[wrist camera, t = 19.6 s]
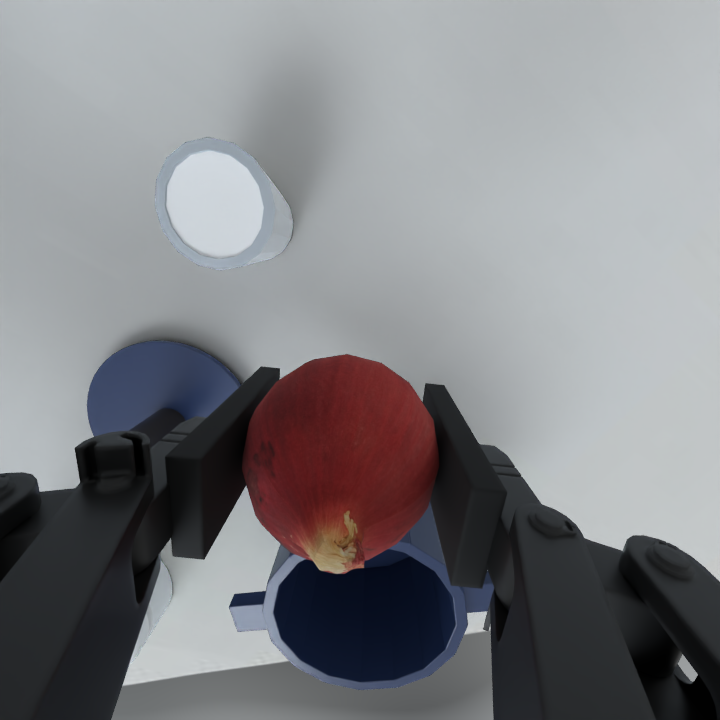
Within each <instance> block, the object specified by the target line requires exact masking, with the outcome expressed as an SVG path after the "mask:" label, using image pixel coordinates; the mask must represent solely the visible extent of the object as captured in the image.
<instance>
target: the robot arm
mask: <svg viewBox="0 0 720 720" xmlns="http://www.w3.org/2000/svg"><path fill="white" fill-rule="evenodd" d="M279 378H280V368H270V367H260V368H259V369H258V370H257V371H256V372H255V373H254V374H253V375H252V376H251V377H250V378H248V379H247V380H246V381H245V382H244V383H243V384H242V385H241V386H240V387H239V388H238V389H237V390H236V391H235V392H234V393H232V394H231V395H230V396H229V397H228V398H227V399H226V400H225V401H224V402H223V403H222V404H221V405H220V406H219V407H217V408H216V409H215V410H214V411H213V412H212V413H211V414H210V415H209V416H208V417H198V416H195V417H193V418H191V419H188V420H186V421H184V422H182V423H180V424H179V425H178V426H176V427H175V428H174V429H173V430H172V431H170V434H167V435H166V436H164V437H163V438H162V439H161V441H158V442H157V443H156V444H155V445H154V446H152V447H151V448H150V438H149V437H148V436H147V435H146V434H144V433H141V432H138V431H117V432H110V433H106V434H102V435H98V436H95V437H93V438H90V439H88V440H86V441H84V442H82V443H81V444H79V445H78V446H77V447H75V453H76V459H77V465H78V471H79V477H80V484H79V485H78V486H77V487H76V488H74V489H64V490H54V491H45V492H39V487H38V483H37V479H36V478H35V477H34V476H33V475H32V474H27V473H22V472H21V473H3V474H0V720H111V718H112V715H113V712H114V709H115V706H116V703H117V700H118V697H119V694H120V690H121V688H122V685H123V682H124V679H125V675H126V672H127V669H128V666H129V663H130V660H131V657H132V654H133V651H134V648H135V645H136V642H137V639H138V636H139V633H140V630H141V627H142V624H143V621H144V618H145V615H146V612H147V609H148V606H149V602H150V599H151V596H152V593H153V590H154V587H155V584H156V581H157V578H158V575H159V572H160V565H161V558H160V552H161V550H162V549H163V548H164V546H165V545H166V544H167V542H168V541H169V540H170V538H171V541H172V554H173V556H175V557H184V558H194V559H203V560H204V559H205V557H206V555H207V554H208V552H209V550H210V548H211V546H212V545H213V543H214V541H215V539H216V538H217V536H218V534H219V532H220V531H221V529H222V527H223V525H224V523H225V522H226V520H227V518H228V516H229V515H230V513H231V511H232V509H233V508H234V506H235V504H236V502H237V500H238V499H239V497H240V495H241V493H242V492H243V490H244V488H245V486H246V482H245V479H244V475H243V472H242V460H243V452H244V447H245V442H246V436H247V431H248V426H249V422H250V420H251V417H252V415H253V413H254V411H255V409H256V408H257V406H258V405H259V404H260V402H261V401H262V400H263V398H264V397H265V396H266V395H267V393H268V392H269V391H270V389H271V388H272V387H273V385H274V384H275V383H276V382H277V381H279ZM422 403H423V404H424V406H425V407H426V409H427V411H428V412H429V414H430V415H431V417H432V418H433V421H434V427H435V433H436V439H437V444H438V451H439V469H438V473H437V476H436V480H435V483H434V487H433V491H432V494H431V498H430V503H431V507H432V511H433V515H434V519H435V523H436V528H437V532H438V536H439V540H440V544H441V548H442V552H443V556H444V560H445V564H446V568H447V573H448V577H449V581H450V585H451V586H460V587H469V588H479V589H482V588H483V585H484V581H485V577H486V573H487V570H488V572H489V575H490V578H491V580H492V583H493V586H494V590H493V593H492V597H491V601H490V604H489V608H488V612H487V615H486V619H485V623H484V628H483V629H484V630H486V631H489V627H490V623H491V653H492V682H493V713H494V720H720V582H719V581H718V580H717V579H716V578H715V577H714V576H713V575H712V574H711V573H710V572H709V571H708V570H707V569H706V568H705V567H704V566H702V565H701V564H700V563H699V562H698V561H696V560H695V559H694V558H693V557H691V556H690V555H688V554H687V553H685V552H683V551H682V550H680V549H679V548H677V547H676V546H674V545H672V544H670V543H666V542H665V541H662V540H659V539H656V538H652V537H648V536H632V537H630V538H629V539H627V541H626V544H625V546H624V549H623V551H621V550H618V549H615V548H612V547H608V546H605V545H602V544H599V543H596V542H593V541H590V540H587V539H585V538H584V537H583V534H582V533H581V531H580V530H579V528H578V527H577V525H576V524H575V523H573V522H572V521H571V520H570V519H569V518H568V517H567V516H565V515H563V514H562V513H560V512H558V511H557V510H555V509H552V508H550V507H547V506H544V505H542V504H541V503H540V501H539V500H538V499H537V497H536V496H535V494H534V493H533V491H532V490H531V489H530V487H529V486H528V484H527V483H526V482H525V480H524V479H523V477H521V474H520V473H519V472H518V470H517V469H516V468H515V466H514V464H513V463H512V462H511V460H510V459H509V457H508V456H507V455H506V454H505V453H503V452H502V451H501V450H499V449H498V448H497V447H495V446H491V445H481V444H479V443H478V442H477V440H476V438H475V436H474V435H473V433H472V431H471V430H470V428H469V426H468V425H467V423H466V421H465V420H464V418H463V416H462V415H461V413H460V411H459V410H458V408H457V406H456V404H455V403H454V401H453V399H452V398H451V396H450V394H449V393H448V391H447V389H446V388H445V386H444V385H437V384H427V383H425V389H424V396H423V402H422ZM682 654H683V655H684V656H685V658H686V659H687V660H688V662H689V663H690V664H691V666H692V667H693V668H694V670H695V671H696V672H697V674H698V676H697V678H696V679H695V681H694V682H692V681H690V680H689V678H688V677H687V676H686V675H685V674H684V673H683V671H682V670H681V668H680V667H679V666H678V662H679V660H680V658H681V656H682Z"/></svg>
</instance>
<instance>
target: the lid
mask: <svg viewBox="0 0 720 720" xmlns="http://www.w3.org/2000/svg"><path fill="white" fill-rule="evenodd" d="M240 386H241V384H240V382H239V381H238V380H237V378H236V377H235V376H234V375H233V374H232V373H231V371H229V370H228V369H227V368H226V367H225V366H224V365H223V364H222V363H221V362H219V361H218V360H216V359H215V358H214V357H212V356H211V355H209V354H207V353H205V352H204V351H202V350H199V349H197V348H195V347H192V346H189V345H186V344H183V343H179V342H173V341H161V340H156V341H146V342H141V343H137V344H134V345H131V346H128V347H126V348H123V349H121V350H120V351H118V352H116V353H114V354H113V355H112V356H111V357H109V358H108V359H107V360H106V361H105V362H104V363H103V364H102V365H101V366H100V368H99V369H98V371H97V372H96V374H95V375H94V377H93V380H92V382H91V385H90V388H89V392H88V400H87V411H88V419H89V423H90V427H91V430H92V433H93V435H94V437H95V436H98V435H102V434H106V433H110V432H117V431H138V432H141V433H144V434H146V435H147V436H148V437H149V438H150V448H151V447H152V446H154V445H155V444H156V443H157V442H158V441H161V439H162V438H163V437H164V436H166V435H167V434H170V431H172V430H173V429H174V428H175V427H176V426H178V425H179V424H180V423H182V422H184V421H186V420H188V419H191V418H193V417H195V416H198V417H208V416H209V415H210V414H211V413H212V412H213V411H214V410H215V409H216V408H217V407H219V406H220V405H221V404H222V403H223V402H224V401H225V400H226V399H227V398H228V397H229V396H230V395H231V394H232V393H234V392H235V391H236V390H237V389H238V388H239V387H240Z"/></svg>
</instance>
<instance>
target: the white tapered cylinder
mask: <svg viewBox="0 0 720 720" xmlns="http://www.w3.org/2000/svg"><path fill="white" fill-rule="evenodd" d="M155 208H156V211H157V214H158V217H159V221H160V224H161V227H162V230H163V232H164V233H165V235H166V236H167V237H168V239H169V240H170V242H171V243H172V244H173V246H174V247H175V248H176V250H177V251H178V252H179V253H181V254H182V255H184V256H185V257H186V258H188V259H189V260H191V261H192V262H194V263H195V264H197V265H199V266H203V267H207V268H212V269H216V270H226V269H231V268H236V267H242V266H246V265H250V264H254V263H257V262H261V261H265V260H269V259H273V258H274V257H275V256H277V255H278V254H280V253H281V252H283V251H284V249H285V248H286V246H287V244H288V243H289V241H290V239H291V236H292V230H293V218H292V214H291V209H290V207H289V205H288V203H287V202H286V200H285V199H284V197H283V196H282V194H281V193H280V191H279V190H278V189H277V187H276V186H275V185H274V183H273V182H272V181H271V179H270V178H269V177H268V175H267V174H266V173H265V171H264V170H263V169H262V167H261V166H260V165H259V163H258V162H257V161H256V159H255V158H253V157H252V156H251V155H249V154H248V153H247V152H245V151H244V150H243V149H241V148H240V147H238V146H237V145H236V144H234V143H232V142H228V141H224V140H220V139H215V138H211V137H206V138H202V139H197V140H193V141H188V142H185V143H184V144H182V145H181V146H180V147H179V148H178V149H176V150H175V151H174V152H173V153H172V154H170V155H169V156H168V157H167V158H166V160H165V162H164V164H163V167H162V169H161V171H160V173H159V175H158V177H157V179H156V194H155Z"/></svg>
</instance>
